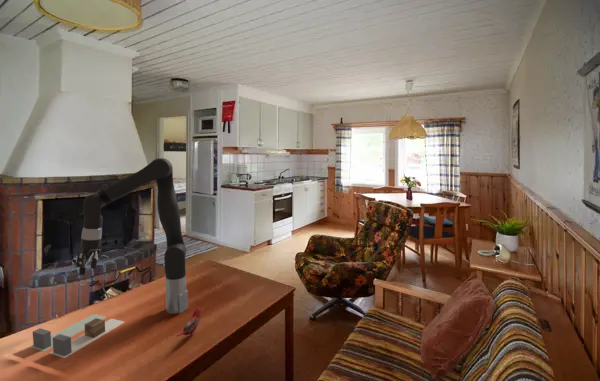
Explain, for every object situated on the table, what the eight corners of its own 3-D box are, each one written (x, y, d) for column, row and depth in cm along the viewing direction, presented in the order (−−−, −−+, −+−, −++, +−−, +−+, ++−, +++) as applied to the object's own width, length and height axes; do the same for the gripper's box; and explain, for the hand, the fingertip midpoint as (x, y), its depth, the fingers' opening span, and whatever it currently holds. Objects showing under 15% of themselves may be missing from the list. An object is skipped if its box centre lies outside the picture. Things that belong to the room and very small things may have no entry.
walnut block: (105, 331, 127) (104, 320, 127) (93, 338, 123) (93, 326, 122) (96, 329, 129) (95, 318, 128) (85, 335, 124) (84, 324, 124)
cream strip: (125, 323, 135) (124, 309, 134) (64, 360, 111) (63, 342, 110) (111, 320, 138) (111, 306, 137) (49, 355, 113) (48, 338, 112)
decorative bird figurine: (203, 327, 135) (203, 306, 134) (179, 351, 118) (179, 327, 117) (198, 326, 136) (197, 305, 135) (173, 350, 119) (172, 326, 117)
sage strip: (106, 319, 138) (106, 304, 138) (44, 353, 114) (42, 336, 113) (93, 315, 141) (93, 301, 140) (29, 349, 116) (28, 332, 115)
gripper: (91, 242, 129) (87, 278, 130) (108, 234, 143) (105, 267, 145) (72, 240, 128) (68, 276, 130) (92, 232, 142) (88, 265, 144)
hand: (87, 271), depth 137 cm, fingers open, 8 cm apart
